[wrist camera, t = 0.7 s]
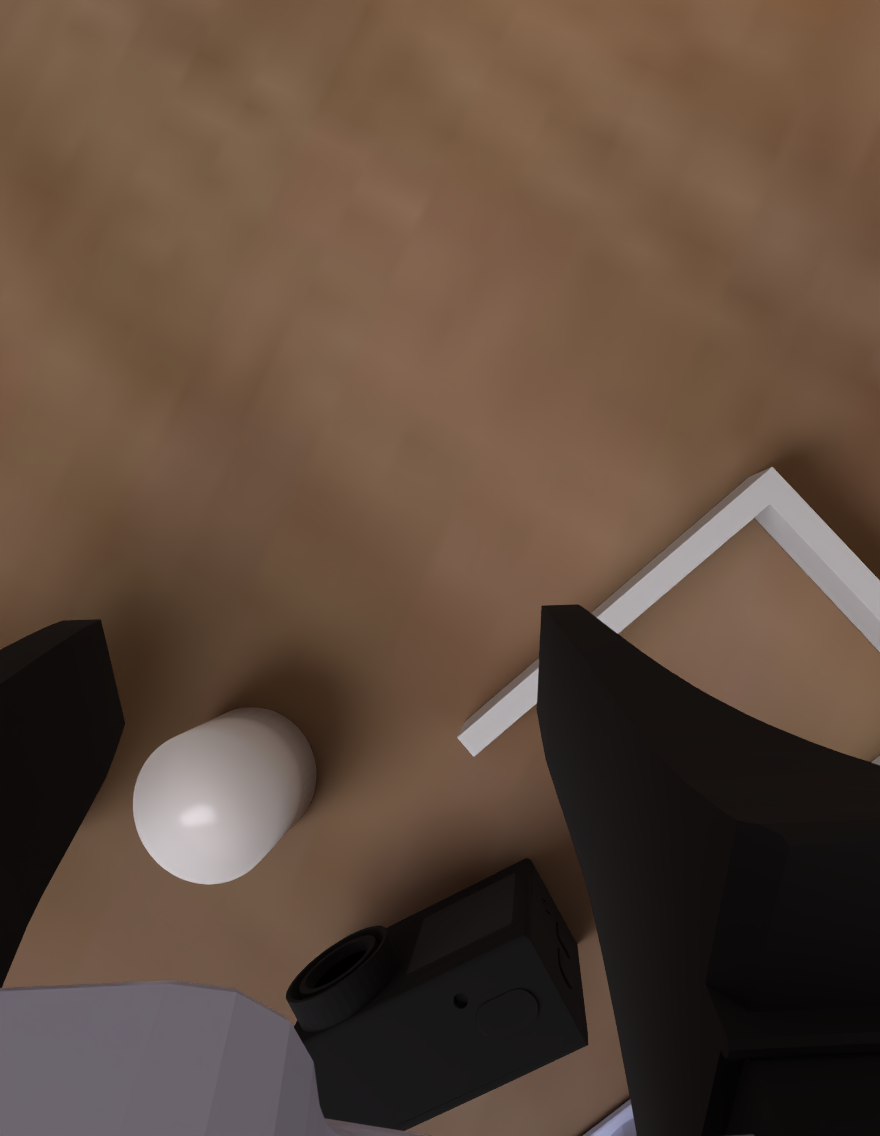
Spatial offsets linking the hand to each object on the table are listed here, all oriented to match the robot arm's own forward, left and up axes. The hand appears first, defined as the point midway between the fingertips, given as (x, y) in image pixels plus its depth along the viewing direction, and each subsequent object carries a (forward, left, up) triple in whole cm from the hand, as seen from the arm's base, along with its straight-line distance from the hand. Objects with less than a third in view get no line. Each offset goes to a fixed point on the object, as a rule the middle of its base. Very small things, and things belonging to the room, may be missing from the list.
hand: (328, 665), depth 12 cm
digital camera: (-11, +10, -21) cm, 26 cm away
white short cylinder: (0, +12, -21) cm, 24 cm away
